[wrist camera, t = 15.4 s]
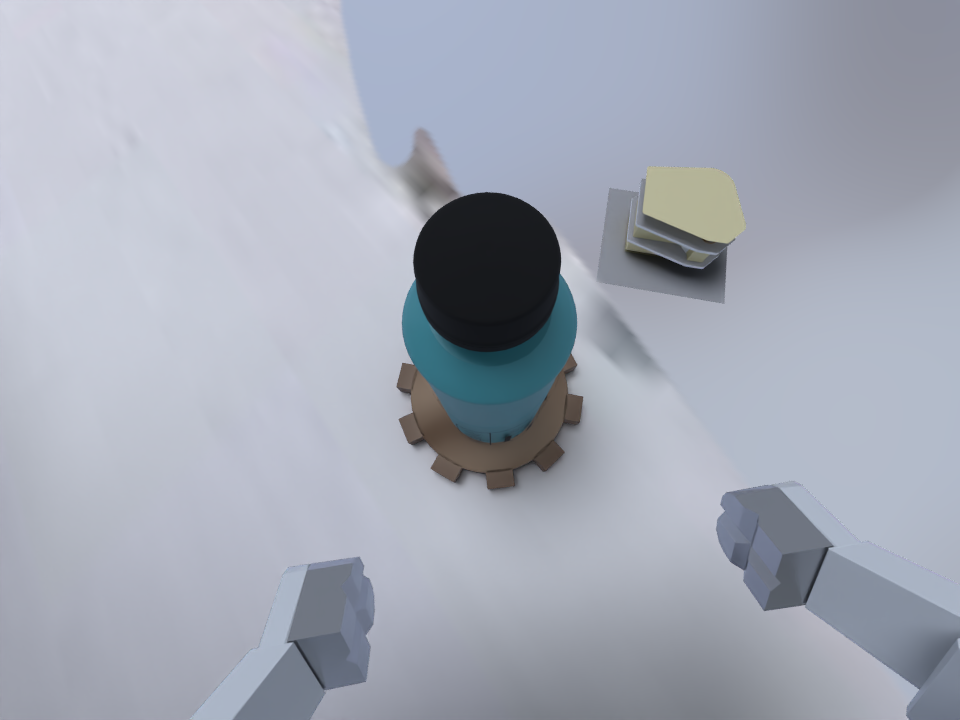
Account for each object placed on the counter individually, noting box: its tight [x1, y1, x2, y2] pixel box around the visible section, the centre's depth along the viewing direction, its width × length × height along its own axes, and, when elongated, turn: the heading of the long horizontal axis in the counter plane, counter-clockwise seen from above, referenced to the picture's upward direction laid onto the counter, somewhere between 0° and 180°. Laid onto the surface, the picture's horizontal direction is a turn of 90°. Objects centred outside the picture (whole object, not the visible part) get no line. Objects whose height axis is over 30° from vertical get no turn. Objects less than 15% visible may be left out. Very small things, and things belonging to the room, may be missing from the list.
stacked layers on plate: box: [596, 167, 746, 304], centre depth 32 cm, size 10×9×6 cm
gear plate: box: [397, 354, 583, 489], centre depth 31 cm, size 13×13×2 cm
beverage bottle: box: [402, 192, 577, 445], centre depth 20 cm, size 6×7×20 cm
